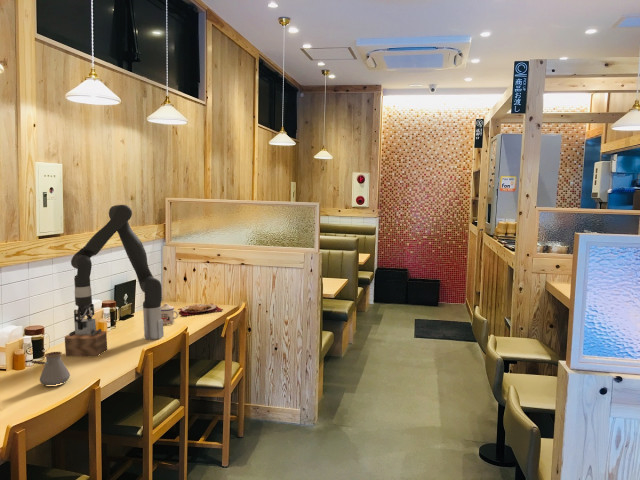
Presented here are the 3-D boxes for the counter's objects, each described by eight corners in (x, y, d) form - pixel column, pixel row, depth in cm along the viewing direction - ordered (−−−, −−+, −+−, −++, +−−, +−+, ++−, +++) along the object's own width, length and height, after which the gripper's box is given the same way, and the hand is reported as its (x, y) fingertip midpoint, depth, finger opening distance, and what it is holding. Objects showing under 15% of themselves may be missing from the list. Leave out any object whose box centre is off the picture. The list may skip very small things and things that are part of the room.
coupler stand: (107, 350, 258) (106, 328, 257) (97, 356, 248) (95, 334, 247) (77, 349, 259) (75, 328, 258) (65, 356, 249) (64, 333, 248)
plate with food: (223, 312, 335) (223, 307, 335) (183, 317, 323) (183, 311, 322) (212, 305, 357) (212, 300, 357) (174, 309, 344) (174, 304, 344)
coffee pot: (49, 378, 220) (47, 344, 219) (75, 378, 220) (73, 344, 218) (19, 398, 199) (16, 361, 197) (47, 399, 198) (45, 361, 197)
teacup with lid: (156, 324, 306) (155, 305, 305) (163, 320, 315) (162, 301, 314) (175, 324, 304) (174, 305, 303) (181, 320, 313) (180, 302, 312)
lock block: (96, 332, 255) (95, 318, 254) (90, 335, 250) (90, 321, 249) (80, 332, 255) (79, 318, 255) (74, 335, 250) (73, 321, 250)
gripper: (82, 298, 243) (84, 331, 245) (97, 292, 257) (99, 323, 259) (67, 298, 244) (69, 331, 245) (83, 292, 258) (85, 323, 260)
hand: (85, 327), depth 252 cm, fingers open, 8 cm apart
